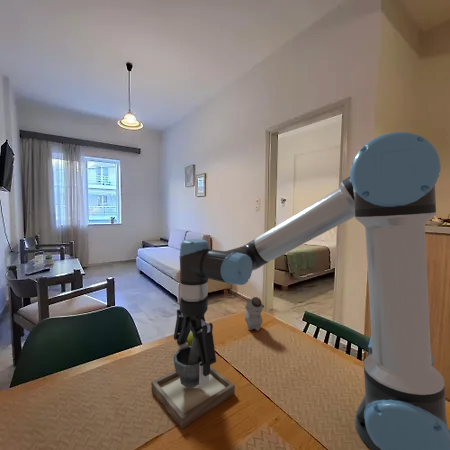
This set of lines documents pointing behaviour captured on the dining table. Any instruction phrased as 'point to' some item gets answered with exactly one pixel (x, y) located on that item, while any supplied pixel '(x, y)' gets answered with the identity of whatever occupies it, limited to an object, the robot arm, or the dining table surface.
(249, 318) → the figurine
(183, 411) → the grey sand tray
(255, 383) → the dining table surface
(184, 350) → the mortar and pestle
